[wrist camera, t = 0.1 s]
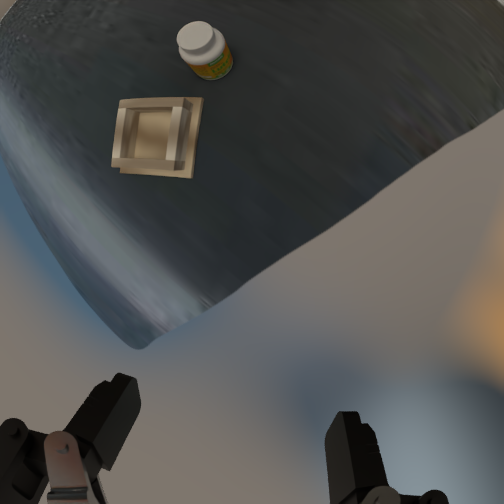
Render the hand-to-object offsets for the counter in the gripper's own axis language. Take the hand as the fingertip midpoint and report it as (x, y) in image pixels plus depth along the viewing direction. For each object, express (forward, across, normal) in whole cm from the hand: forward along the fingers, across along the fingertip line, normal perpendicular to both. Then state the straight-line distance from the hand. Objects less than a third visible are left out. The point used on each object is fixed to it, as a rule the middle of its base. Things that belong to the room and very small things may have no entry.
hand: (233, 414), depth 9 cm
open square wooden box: (+29, +16, -12) cm, 35 cm away
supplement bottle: (+29, +10, -23) cm, 39 cm away
